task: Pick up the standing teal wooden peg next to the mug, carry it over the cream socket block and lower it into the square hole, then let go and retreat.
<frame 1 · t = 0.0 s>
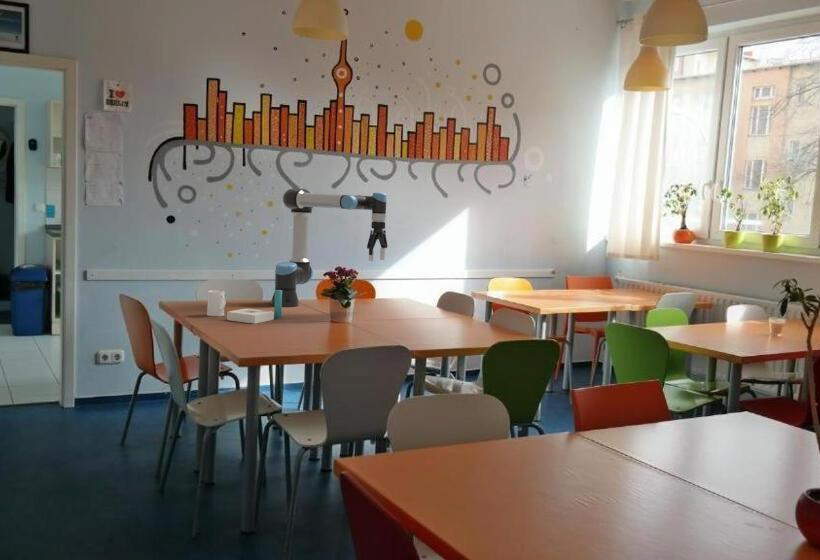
hand: (376, 260, 441), 28 cm above the table, fingers open, 13 cm apart
peg: (277, 318, 404), on the table
socket block: (250, 319, 395), on the table
mug: (217, 315, 403), on the table
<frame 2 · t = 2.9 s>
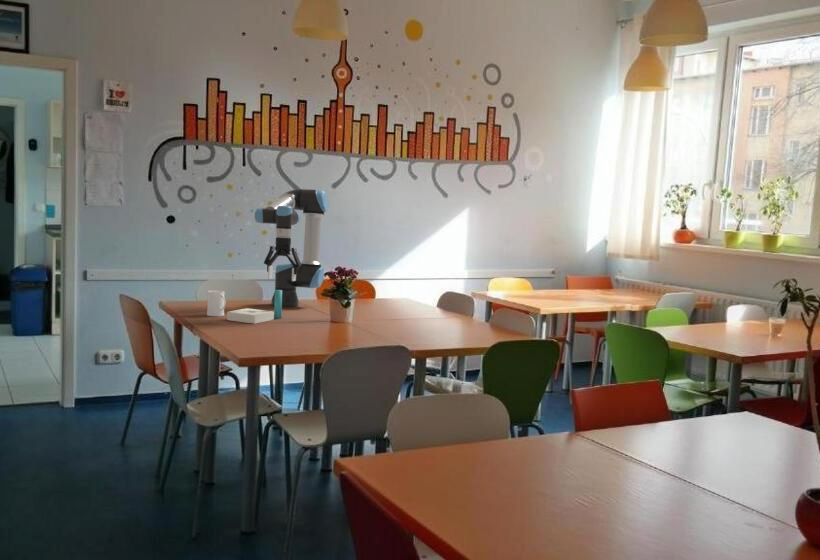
hand: (281, 279, 403), 19 cm above the table, fingers open, 13 cm apart
nothing on the table moved.
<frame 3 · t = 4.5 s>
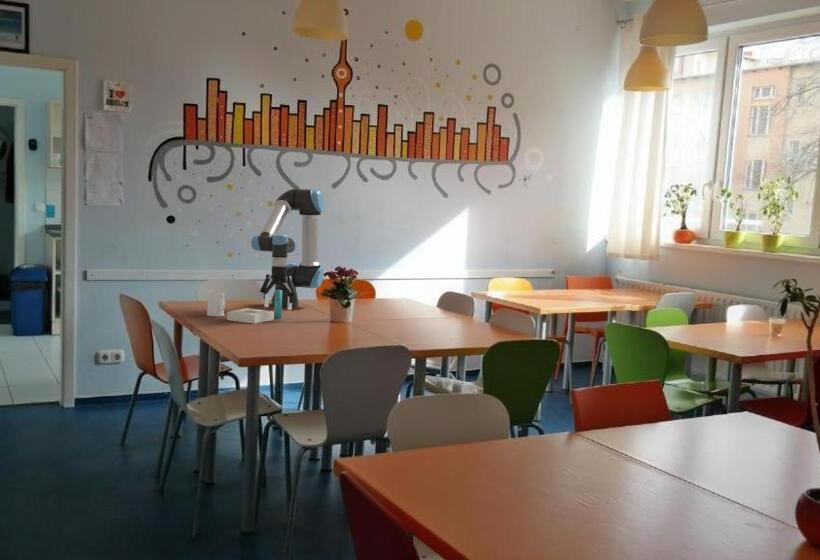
hand: (277, 308, 404), 5 cm above the table, fingers open, 13 cm apart
nothing on the table moved.
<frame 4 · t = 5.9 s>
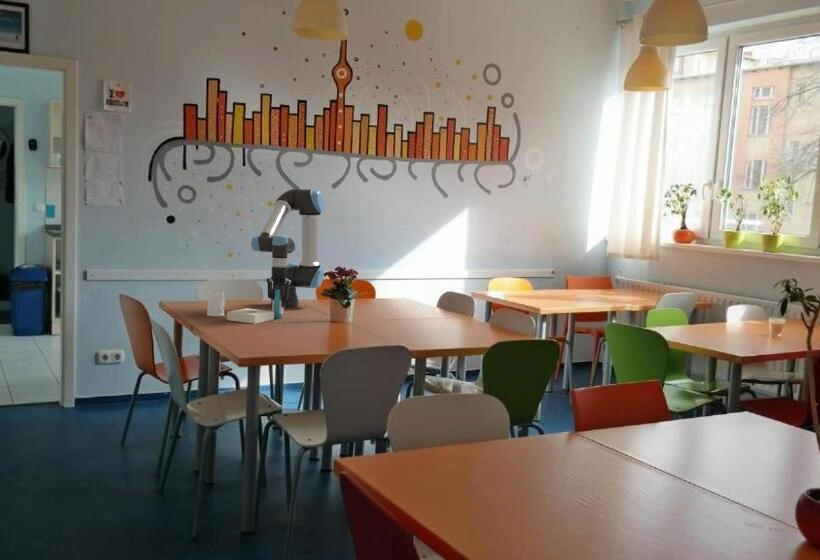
hand: (277, 313, 404), 3 cm above the table, fingers closed on peg, 3 cm apart
peg: (277, 318, 404), on the table, touching gripper
everything else where it was.
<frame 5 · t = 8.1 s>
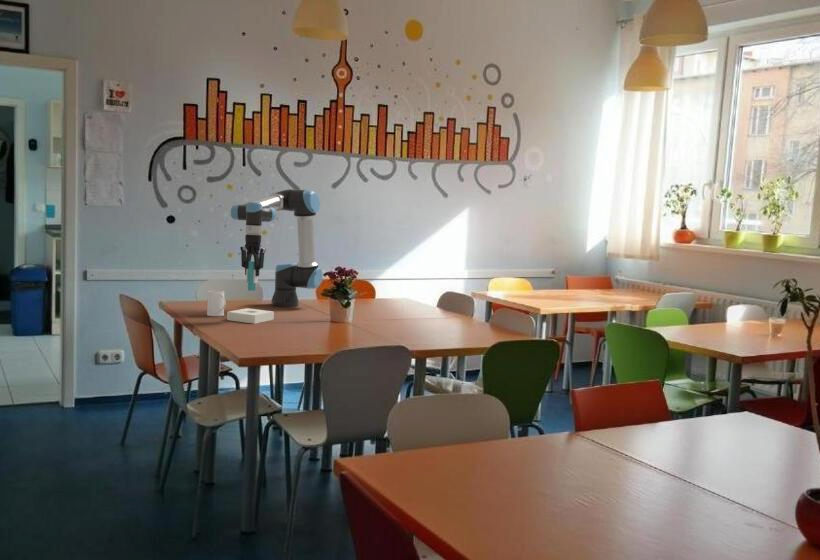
hand: (251, 282, 393), 18 cm above the table, fingers closed on peg, 3 cm apart
peg: (251, 290, 394), point 15 cm above the table, touching gripper
everything else where it was.
when the fingers open (5 cm above the table, at t = 10.4 s): peg stays where it is, resting in socket block.
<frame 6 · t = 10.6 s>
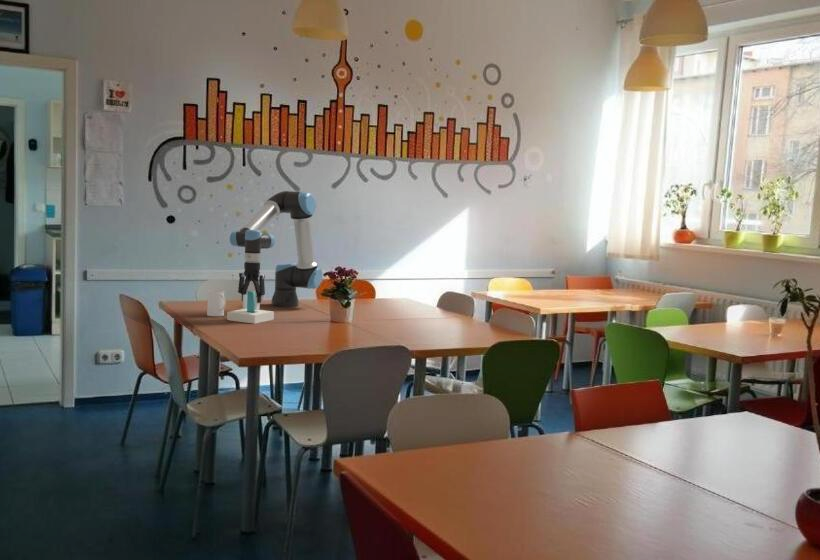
hand: (250, 308, 395), 5 cm above the table, fingers open, 7 cm apart
peg: (250, 319, 395), resting in socket block
everything else where it was.
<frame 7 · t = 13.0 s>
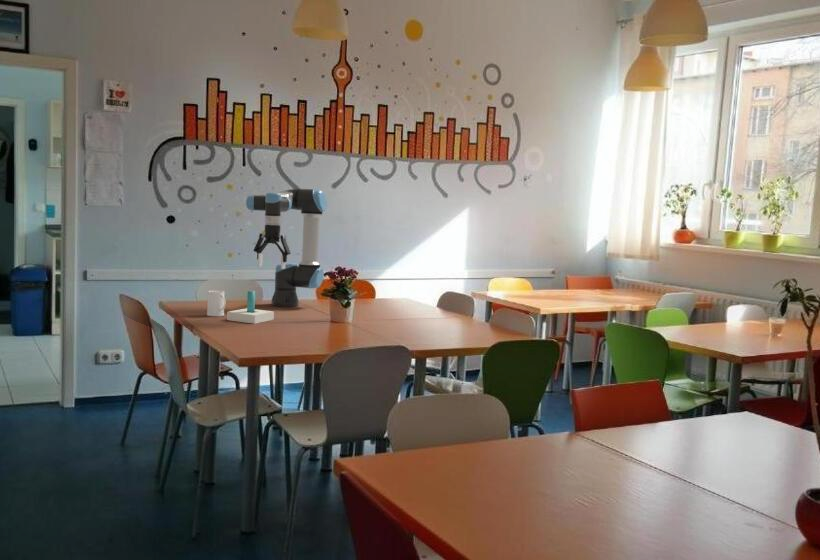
hand: (271, 267, 399), 25 cm above the table, fingers open, 13 cm apart
nothing on the table moved.
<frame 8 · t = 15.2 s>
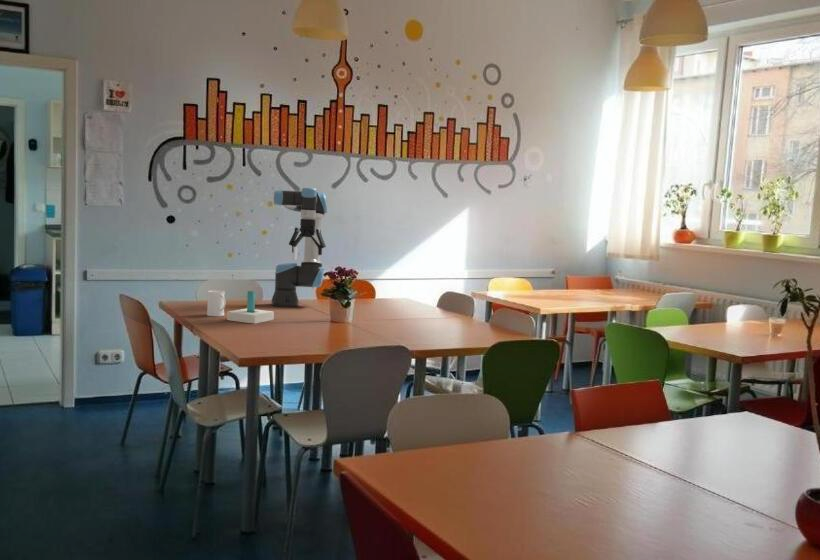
hand: (306, 260, 411), 29 cm above the table, fingers open, 13 cm apart
nothing on the table moved.
at the end: peg 0.0 cm off-centre on the socket block, point 0.0 cm above the socket block's base; peg tilted 0°; the gripper is holding nothing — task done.
